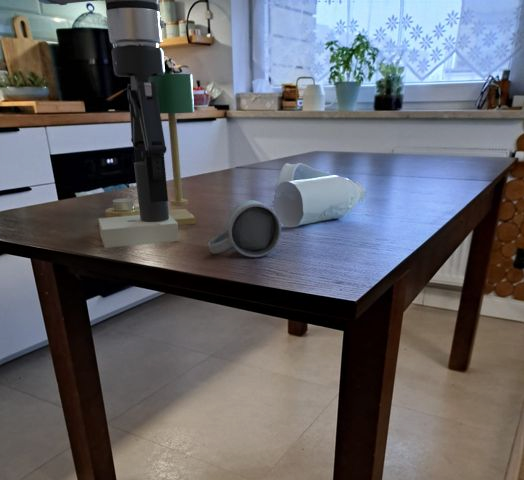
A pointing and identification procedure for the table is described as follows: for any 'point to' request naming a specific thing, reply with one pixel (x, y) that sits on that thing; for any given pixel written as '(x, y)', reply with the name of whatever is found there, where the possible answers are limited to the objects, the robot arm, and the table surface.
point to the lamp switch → (123, 205)
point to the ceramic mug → (249, 230)
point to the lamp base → (183, 220)
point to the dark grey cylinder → (147, 208)
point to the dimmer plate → (136, 231)
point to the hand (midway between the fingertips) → (152, 194)
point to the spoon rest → (298, 173)
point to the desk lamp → (175, 101)
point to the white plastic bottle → (316, 199)
